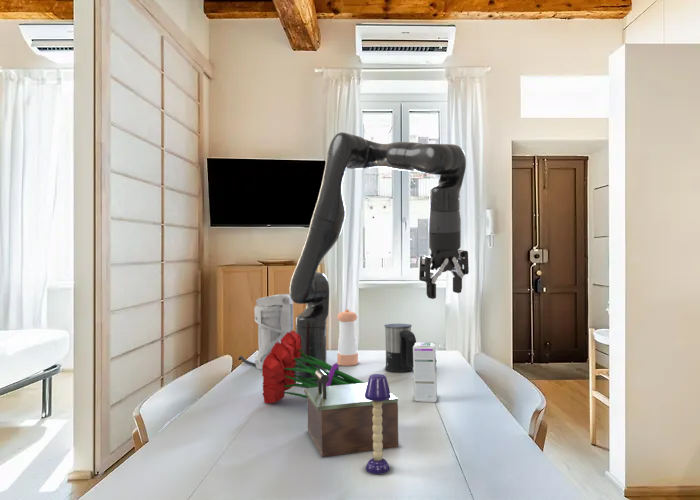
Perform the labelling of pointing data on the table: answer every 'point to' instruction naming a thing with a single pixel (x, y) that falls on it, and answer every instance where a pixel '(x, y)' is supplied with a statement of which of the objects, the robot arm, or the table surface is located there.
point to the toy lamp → (377, 421)
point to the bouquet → (282, 370)
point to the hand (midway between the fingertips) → (444, 295)
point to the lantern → (272, 323)
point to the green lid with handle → (339, 394)
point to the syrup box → (424, 372)
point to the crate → (351, 428)
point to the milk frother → (399, 347)
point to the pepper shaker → (347, 339)
